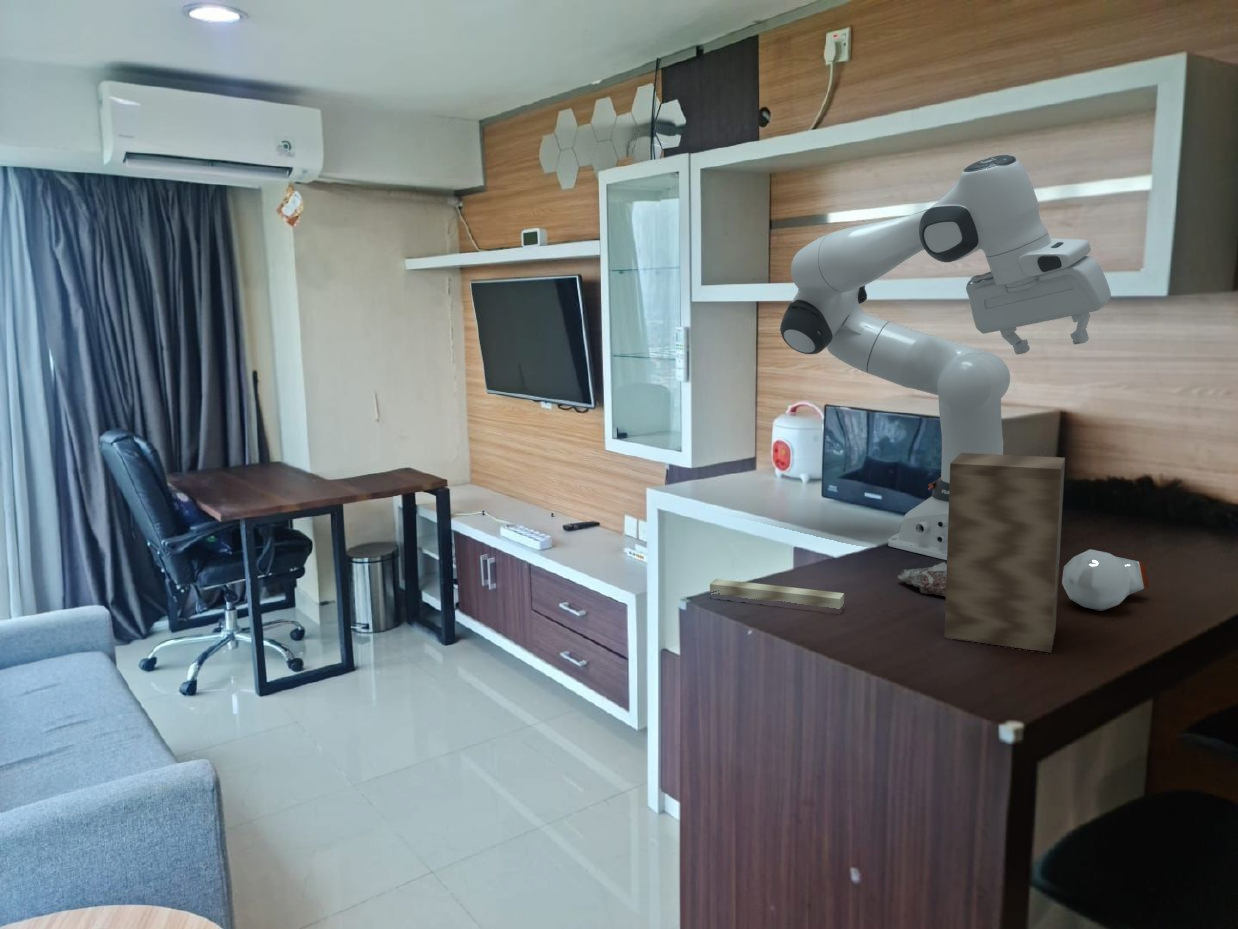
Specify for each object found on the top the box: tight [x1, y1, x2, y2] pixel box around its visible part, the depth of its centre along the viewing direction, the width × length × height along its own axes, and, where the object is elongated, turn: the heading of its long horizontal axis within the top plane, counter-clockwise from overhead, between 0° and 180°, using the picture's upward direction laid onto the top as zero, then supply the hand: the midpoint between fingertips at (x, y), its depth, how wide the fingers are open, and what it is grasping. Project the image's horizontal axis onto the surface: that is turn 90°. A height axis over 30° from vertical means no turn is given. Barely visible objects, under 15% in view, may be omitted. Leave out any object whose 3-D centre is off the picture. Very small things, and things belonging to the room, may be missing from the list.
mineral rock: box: [897, 562, 947, 598], centre depth 146 cm, size 15×8×4 cm, turn 27°
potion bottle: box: [1061, 548, 1150, 612], centre depth 137 cm, size 9×10×15 cm
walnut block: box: [944, 453, 1066, 654], centre depth 125 cm, size 14×10×26 cm
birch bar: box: [709, 578, 845, 609], centre depth 143 cm, size 22×3×3 cm, turn 63°
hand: (1051, 347), depth 131 cm, fingers open, 8 cm apart
